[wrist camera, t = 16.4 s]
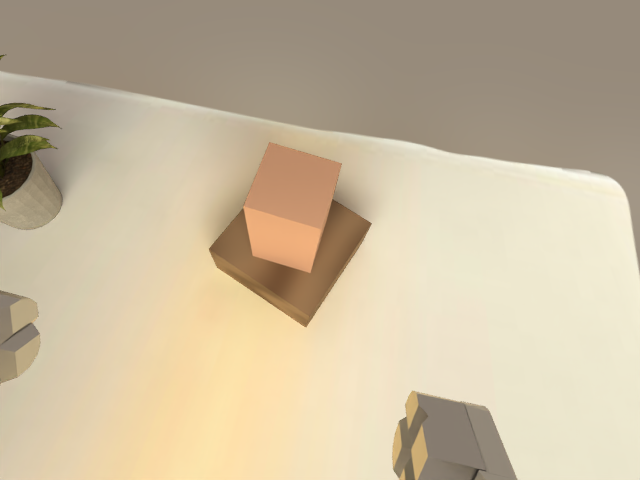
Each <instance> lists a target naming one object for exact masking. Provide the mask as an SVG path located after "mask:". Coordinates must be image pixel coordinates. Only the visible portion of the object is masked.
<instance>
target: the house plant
mask: <svg viewBox="0 0 640 480" xmlns="http://www.w3.org/2000/svg"><path fill="white" fill-rule="evenodd" d="M3 56H4V55H1V56H0V59H1V58H2V57H3ZM16 107H22V108H31V109H44V110H56V109H50V108H44V107H38V106H34V105H31V104H25V103H10V104H4V105H1V106H0V125H4V126H3V128H2V129H0V222H2V223H5V224H7V225H10V226H12V227H15V228H18V229H24V230H28V229H35V228H38V227H41V226H43V225H45V224H47V223H49V222H50V221H51V220H52V219H53V218H55V216H56V215H57V214H58V212H59V211H60V208H61V206H62V196H61V193H60V191H59V190H58V188H57V187H56V185H55V184H54V182H53V180H52V179H51V177H50V176H49V174H48V172H47V171H46V169H45V168H44V166H43V165H42V163H41V161H40V160H39V158H38V157H37V155H36V153H35V152H34V151H37V150H40V149H45V148H55V147H54V146H52V145H50V144H49V143H48V142H47V141H46V140H49V139H46V138H42V137H39V136H35V135H24V136H20V137H17V136H14V135H11V134H9V133H11V132H13V131H16V130H23V129H36V128H44V127H49V126H51V127H59V126H57V125H56V124H54V123H53V122H52V121H50V120H49V119H48V118H46V117H43V116H39V115H24V116H21V117H18V118H15V119H10V118H5V117H2V116H3V115H4V114H5V113H6V112H7V111H8V110H10V109H13V108H16ZM59 128H60V127H59ZM61 129H62V128H61ZM55 149H57V148H55Z"/></svg>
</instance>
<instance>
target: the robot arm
mask: <svg viewBox="0 0 640 480" xmlns="http://www.w3.org/2000/svg"><path fill="white" fill-rule="evenodd" d="M38 316H39V315H38V308H37V303H36V302H35V301H33V300H32V299H30V298H27V297H23V296H19V295H16V294H12V293H8V292H4V291H1V290H0V384H1V383H3V382H5V381H8V380H11V379H14V378H17V377H18V376H20V375H21V374H22V373H23V372H24V371H25V370H27V369H28V368H29V367H30V365H31V364H32V362H33V361H34V359H35V358H36V356H37V355H38V351H39V347H40V333H39V332H38V330H37V329H36V327H35V326H34V325H33V322H34V321H35V320H36V319H37V318H38ZM405 407H406V415H407V417H405V418H403V419H402V420H400V421H399V423H398V426H397V429H396V432H395V437H394V443H393V455H392V460H393V470H394V472H395V473H396V475H397V476H398V478H399V480H517V477H516V475H515V472H514V470H513V468H512V465H511V463H510V460H509V458H508V455H507V453H506V450H505V448H504V446H503V443H502V441H501V438H500V436H499V433H498V431H497V428H496V426H495V424H494V421H493V419H492V416H491V414H490V411H489V410H488V409H487V408H486V407H485V406H480V405H476V404H471V403H466V402H462V401H461V402H458V401H455V400H450V399H446V398H442V397H438V396H433V395H429V394H425V393H420V392H416V391H412V392H411V393H410V395H409V397H408V399H407V402H406V404H405Z"/></svg>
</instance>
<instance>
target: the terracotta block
mask: <svg viewBox="0 0 640 480" xmlns="http://www.w3.org/2000/svg"><path fill="white" fill-rule="evenodd" d="M341 165H342V164H341V163H338V162H334V161H331V160H328V159H324V158H321V157H318V156H314V155H311V154H307V153H304V152H301V151H297V150H294V149H290V148H287V147H284V146H280V145H277V144H274V143H270V142H269V145H268V147H267V150H266V152H265V154H264V157H263V159H262V162H261V164H260V167H259V169H258V172H257V174H256V176H255V179H254V181H253V184H252V186H251V189H250V191H249V193H248V196H247V198H246V201H245V203H244V206H243V207H244V212H245V218H246V223H247V228H248V234H249V239H250V244H251V249H252V255H253V256H255V257H258V258H262V259H265V260H268V261H272V262H275V263H278V264H282V265H285V266H288V267H292V268H295V269H298V270H302V271H305V272H308V273H311V270H312V267H313V263H314V260H315V257H316V254H317V250H318V247H319V244H320V241H321V237H322V234H323V231H324V227H325V224H326V221H327V217H328V213H329V210H330V206H331V202H332V198H333V195H334V191H335V187H336V183H337V180H338V176H339V172H340V168H341Z"/></svg>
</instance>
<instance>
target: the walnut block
mask: <svg viewBox="0 0 640 480" xmlns="http://www.w3.org/2000/svg"><path fill="white" fill-rule="evenodd" d="M371 224H372V223H370V222H369V221H367V220H365V219H364V218H362V217H360V216H359V215H357V214H356V213H354V212H352V211H351V210H349V209H347V208H346V207H344V206H343V205H341V204H339V203H338V202H336V201H334V200H333V199H332V202H331V206H330V210H329V213H328V217H327V221H326V224H325V227H324V231H323V234H322V237H321V241H320V244H319V247H318V250H317V254H316V257H315V260H314V263H313V267H312V270H311V273H308V272H305V271H302V270H298V269H295V268H292V267H288V266H285V265H282V264H278V263H275V262H272V261H268V260H265V259H262V258H258V257H255V256H253V255H252V249H251V244H250V239H249V234H248V228H247V223H246V218H245V212H244V208H243V209H242V211H241V212H240V213H239V214H238V215H237V216H236V218H235V219H234V220H233V221H232V222H231V224H230V225H229V226H228V227H227V228H226V229H225V231H224V232H223V233H222V234H221V235H220V236H219V238H218V239H217V240H216V241H215V242H214V243H213V245H212V246H211V247H210V248H209V251H210V253H211V255H212V257H213V259H214V262H215V264H216V266H217V268H219V269H220V270H222V271H223V272H225V273H226V274H228V275H229V276H231V277H232V278H234V279H235V280H237V281H238V282H239V283H241V284H242V285H244V286H245V287H247V288H248V289H250V290H251V291H253V292H254V293H256V294H257V295H259V296H260V297H262V298H263V299H265V300H266V301H268V302H269V303H270V304H272V305H273V306H275V307H276V308H278V309H279V310H281V311H282V312H284V313H285V314H287V315H288V316H290V317H291V318H293V319H294V320H296V321H297V322H299V323H300V324H301V325H303V326H304V327H307V325H308V324H309V322H310V321H311V319H312V318H313V316H314V315H315V313H316V311H317V310H318V308H319V307H320V305H321V304H322V302H323V301H324V299H325V298H326V296H327V295H328V293H329V292H330V290H331V289H332V287H333V286H334V284H335V283H336V281H337V280H338V278H339V277H340V275H341V274H342V272H343V271H344V269H345V268H346V266H347V265H348V263H349V262H350V260H351V259H352V257H353V256H354V254H355V253H356V251H357V249H358V248H359V246H360V245H361V243H362V241H363V240H364V238H365V236H366V234H367V232H368V230H369V228H370V226H371Z"/></svg>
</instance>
